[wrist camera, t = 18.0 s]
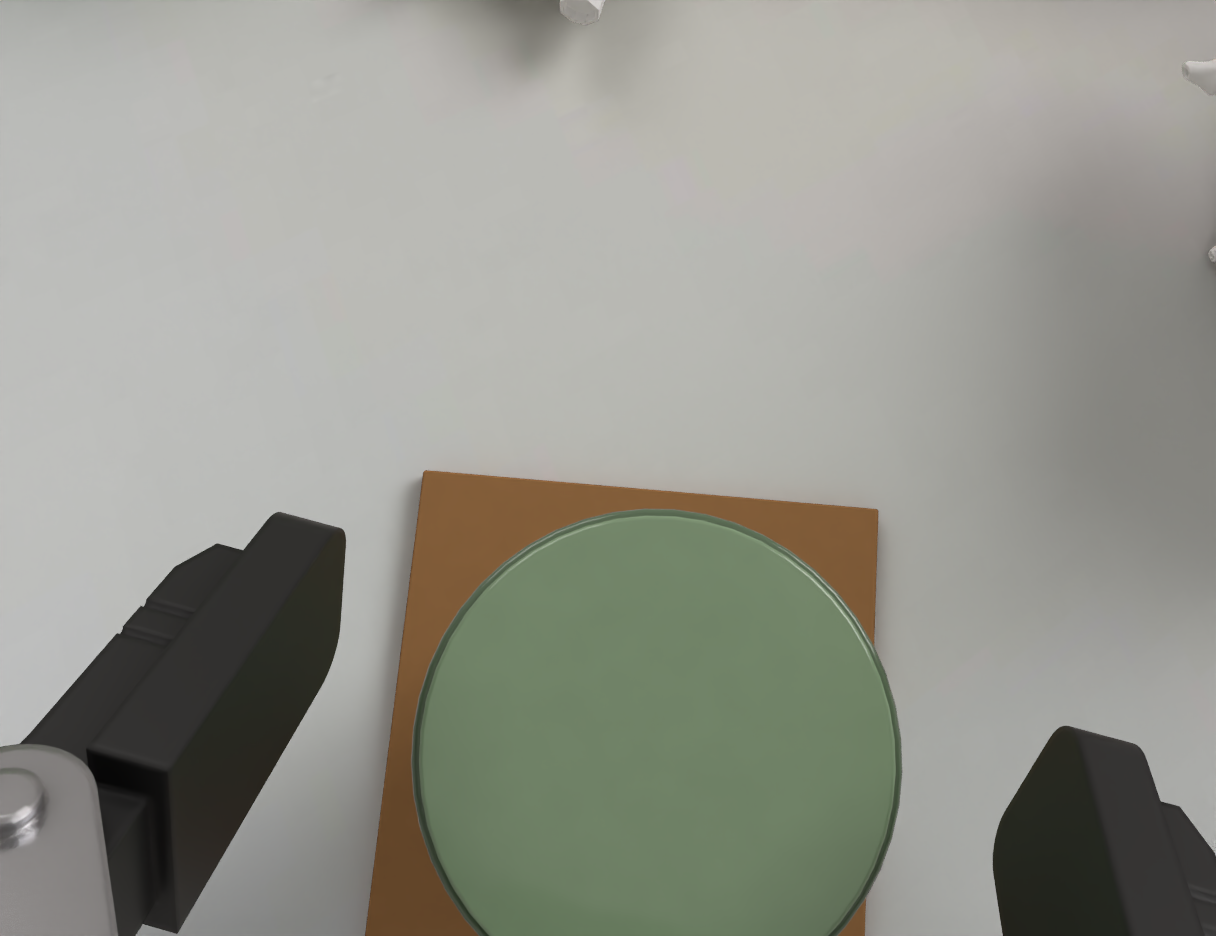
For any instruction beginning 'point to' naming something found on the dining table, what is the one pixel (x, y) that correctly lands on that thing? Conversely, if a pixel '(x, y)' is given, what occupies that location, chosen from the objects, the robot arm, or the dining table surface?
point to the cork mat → (471, 551)
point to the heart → (1211, 80)
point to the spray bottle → (581, 10)
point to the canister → (656, 739)
